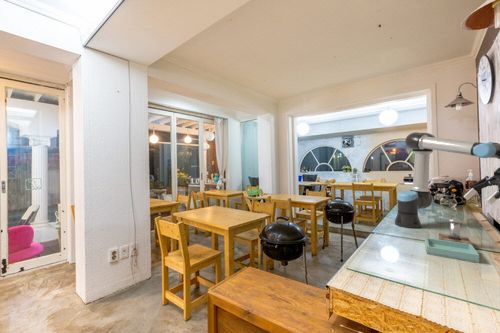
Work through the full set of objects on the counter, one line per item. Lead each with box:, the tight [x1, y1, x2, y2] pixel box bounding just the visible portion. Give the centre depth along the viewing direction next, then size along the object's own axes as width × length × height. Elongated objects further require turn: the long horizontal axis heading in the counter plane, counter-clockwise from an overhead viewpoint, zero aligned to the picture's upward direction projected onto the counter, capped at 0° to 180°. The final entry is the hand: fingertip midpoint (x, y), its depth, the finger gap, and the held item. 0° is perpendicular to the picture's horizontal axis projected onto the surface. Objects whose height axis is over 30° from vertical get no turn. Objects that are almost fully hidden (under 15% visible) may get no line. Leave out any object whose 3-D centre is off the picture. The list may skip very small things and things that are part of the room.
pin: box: [447, 217, 463, 240], centre depth 123 cm, size 6×6×13 cm
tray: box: [424, 237, 480, 264], centre depth 111 cm, size 18×16×4 cm
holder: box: [438, 233, 474, 247], centre depth 123 cm, size 12×12×3 cm
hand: (476, 200), depth 121 cm, fingers open, 13 cm apart
